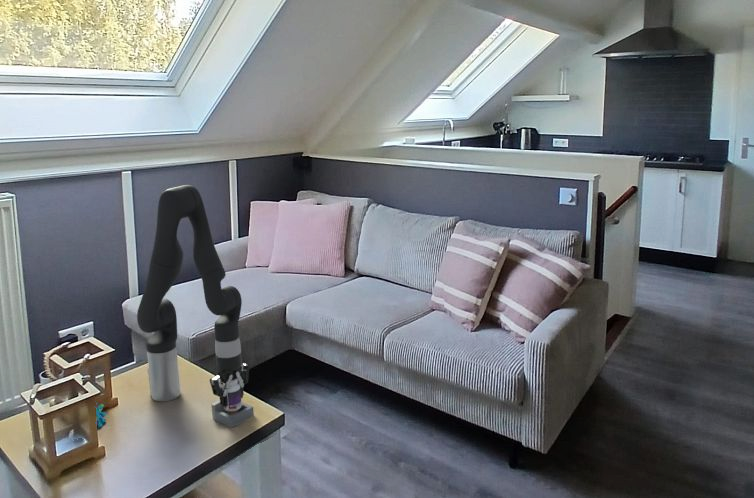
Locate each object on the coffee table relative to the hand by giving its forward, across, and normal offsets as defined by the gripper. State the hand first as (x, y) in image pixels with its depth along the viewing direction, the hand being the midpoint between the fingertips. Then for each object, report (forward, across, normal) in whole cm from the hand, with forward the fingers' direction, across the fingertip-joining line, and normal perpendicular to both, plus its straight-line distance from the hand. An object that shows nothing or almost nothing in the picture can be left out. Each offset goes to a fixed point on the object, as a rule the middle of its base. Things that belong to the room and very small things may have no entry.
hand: (232, 401), depth 191 cm
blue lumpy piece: (+6, +28, -32) cm, 43 cm away
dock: (+5, 0, 0) cm, 5 cm away
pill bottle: (+2, 0, 0) cm, 2 cm away
